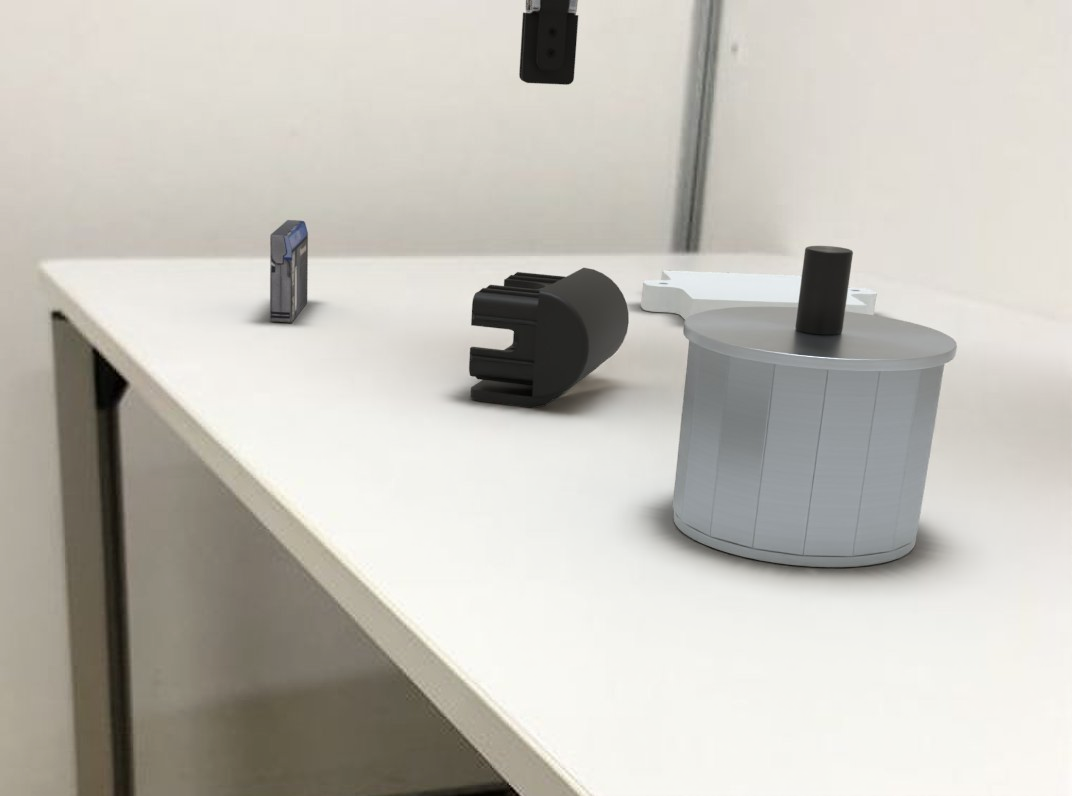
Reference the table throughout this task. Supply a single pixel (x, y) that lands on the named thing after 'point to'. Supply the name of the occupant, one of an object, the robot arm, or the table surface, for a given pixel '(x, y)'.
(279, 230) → the mini dv tape
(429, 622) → the table surface
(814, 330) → the pot lid
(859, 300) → the mounting plate
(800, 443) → the pot
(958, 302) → the table surface
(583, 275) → the end cap
